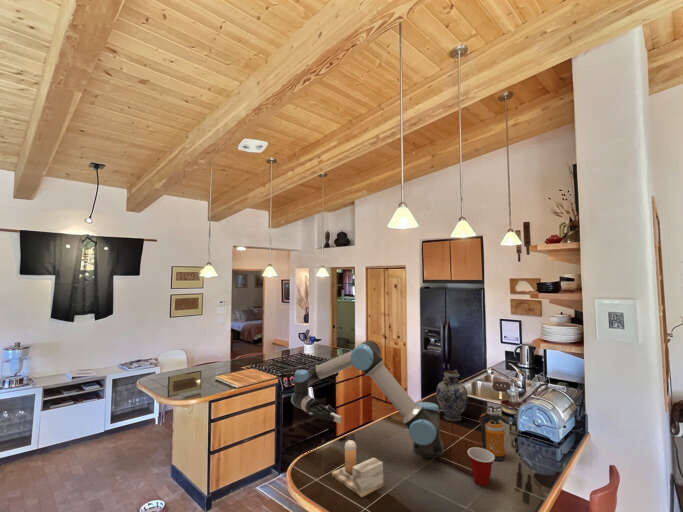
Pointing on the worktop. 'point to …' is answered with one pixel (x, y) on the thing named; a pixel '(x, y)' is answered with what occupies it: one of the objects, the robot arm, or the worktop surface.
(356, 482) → the knob mount
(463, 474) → the worktop surface
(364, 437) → the worktop surface
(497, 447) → the canister
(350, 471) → the plunger knob
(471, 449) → the plastic cup
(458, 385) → the decorative vase
